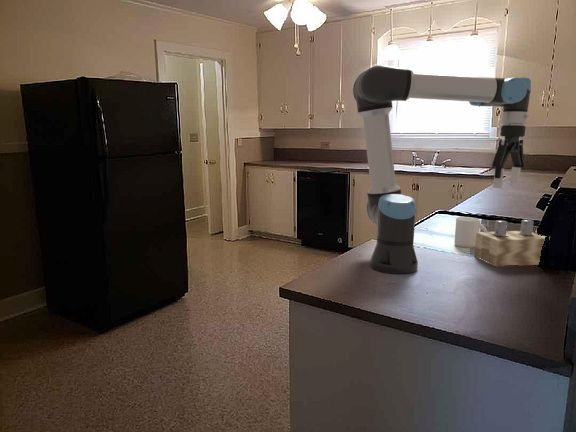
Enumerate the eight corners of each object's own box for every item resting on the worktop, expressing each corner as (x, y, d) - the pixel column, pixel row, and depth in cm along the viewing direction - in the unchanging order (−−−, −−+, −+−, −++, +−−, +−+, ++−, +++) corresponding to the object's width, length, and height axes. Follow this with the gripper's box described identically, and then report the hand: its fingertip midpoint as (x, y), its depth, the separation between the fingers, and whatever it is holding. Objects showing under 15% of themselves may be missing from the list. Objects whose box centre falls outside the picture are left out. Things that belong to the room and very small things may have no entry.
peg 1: (497, 248, 149) (499, 222, 147) (490, 245, 152) (493, 220, 150) (506, 247, 149) (509, 222, 148) (500, 245, 153) (502, 220, 151)
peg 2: (523, 247, 150) (526, 221, 149) (516, 244, 154) (519, 219, 152) (533, 246, 151) (536, 221, 149) (525, 244, 154) (528, 219, 153)
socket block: (494, 266, 145) (497, 240, 143) (474, 256, 157) (476, 232, 155) (548, 264, 148) (551, 238, 146) (524, 254, 160) (527, 230, 158)
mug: (483, 250, 164) (485, 223, 162) (451, 245, 172) (453, 219, 170) (489, 246, 171) (492, 219, 169) (458, 241, 178) (460, 215, 176)
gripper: (509, 123, 138) (501, 190, 142) (539, 126, 154) (531, 185, 158) (485, 123, 144) (478, 187, 148) (517, 126, 160) (510, 183, 164)
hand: (505, 186), depth 153 cm, fingers open, 13 cm apart
